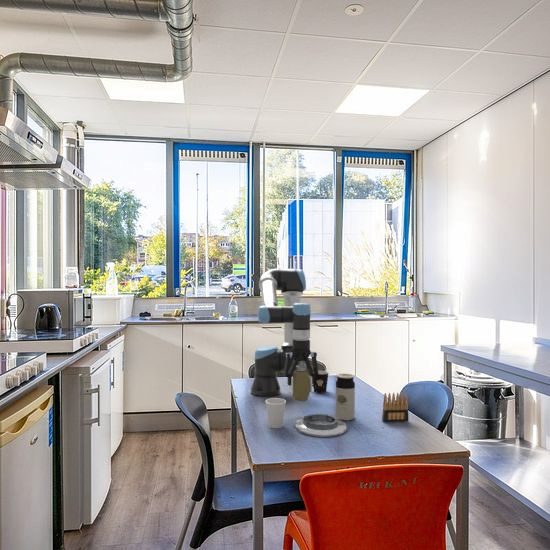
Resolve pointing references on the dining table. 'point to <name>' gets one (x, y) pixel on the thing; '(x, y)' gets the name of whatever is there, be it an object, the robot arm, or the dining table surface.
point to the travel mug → (345, 397)
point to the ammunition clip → (395, 409)
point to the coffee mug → (320, 382)
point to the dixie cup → (275, 412)
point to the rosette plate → (320, 432)
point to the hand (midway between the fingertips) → (300, 392)
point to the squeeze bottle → (301, 383)
